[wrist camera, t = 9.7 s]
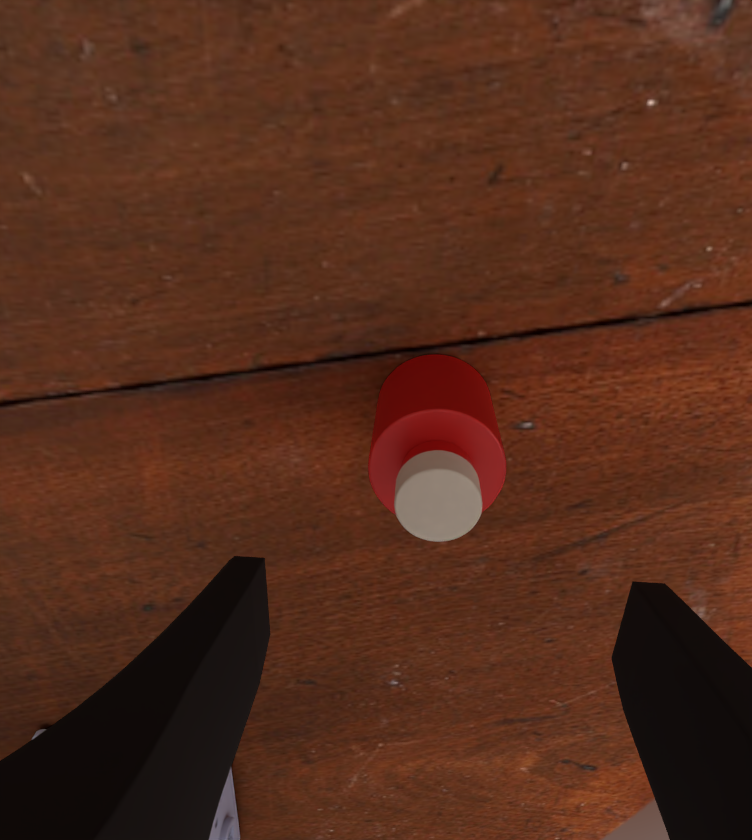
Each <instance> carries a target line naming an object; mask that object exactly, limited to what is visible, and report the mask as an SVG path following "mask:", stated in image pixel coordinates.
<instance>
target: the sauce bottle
mask: <svg viewBox="0 0 752 840" xmlns="http://www.w3.org/2000/svg"><path fill="white" fill-rule="evenodd" d="M368 474H369V479H370V483H371V485H372V488H373V490H374V492H375V494H376V496H377V497H378V498H379V500H380V501H381V502H382V503H383V505H384V506H385V507H386V508H387V509H389V510H390V511H391V512H392V513H394V514H395V515H396V516H397V518H398V520H399V522H400V523H401V524H402V526H403V527H404V528H405V529H406V530H407V531H408V532H410V533H411V534H413V535H414V536H416V537H419V538H421V539H424V540H428V541H448V540H453V539H456V538H458V537H460V536H462V535H464V534H466V533H467V532H468V531H470V530H471V529H472V528H473V527H474V525H475V524H476V523H477V521H478V519H479V518H480V515H481V513H482V512H483V511H484V510H486V509H487V508H488V507H489V506H490V505H491V504H492V503H493V501H494V500H495V499H496V497H497V496H498V494H499V493H500V491H501V489H502V486H503V484H504V481H505V476H506V457H505V453H504V449H503V445H502V441H501V437H500V433H499V429H498V424H497V420H496V416H495V412H494V408H493V404H492V400H491V396H490V392H489V389H488V387H487V384H486V382H485V381H484V379H483V378H482V376H481V375H480V374H479V373H478V372H477V371H476V370H475V369H474V368H473V367H472V366H470V365H469V364H468V363H466V362H464V361H462V360H460V359H457V358H455V357H451V356H447V355H440V354H430V355H423V356H419V357H415V358H413V359H410V360H408V361H406V362H404V363H403V364H401V365H400V366H398V367H397V368H396V369H395V370H394V371H392V372H391V373H390V375H389V376H388V377H387V379H386V380H385V382H384V383H383V385H382V388H381V390H380V393H379V397H378V403H377V409H376V416H375V422H374V428H373V435H372V441H371V448H370V454H369V462H368Z"/></svg>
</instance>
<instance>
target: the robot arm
mask: <svg viewBox="0 0 752 840" xmlns="http://www.w3.org/2000/svg"><path fill="white" fill-rule="evenodd" d="M269 637H270V625H269V611H268V598H267V584H266V570H265V558H256V557H240V556H234V557H233V558H232V559H231V560H229V561H228V563H227V564H226V565H225V566H224V567H223V568H222V569H221V571H220V572H219V573H218V574H217V575H216V576H215V577H214V578H213V580H212V581H211V582H210V583H209V584H208V585H207V586H206V587H205V588H204V590H203V591H202V592H201V593H200V594H199V595H198V596H197V597H196V598H195V599H194V600H193V601H192V603H191V604H190V605H189V606H188V607H187V608H186V609H185V610H184V611H183V612H182V613H181V614H180V615H179V616H178V617H177V618H176V619H175V620H174V621H173V622H172V623H171V624H170V625H169V626H168V627H167V628H166V629H165V630H164V631H163V632H162V633H161V634H160V635H159V636H158V637H157V638H156V639H155V640H154V641H153V642H152V643H151V644H150V645H149V646H148V647H146V648H145V649H144V650H143V651H142V652H141V653H140V654H139V655H138V656H137V657H136V658H135V659H134V660H133V661H131V662H130V663H129V664H128V665H127V666H126V667H125V668H124V669H123V670H121V671H120V672H119V673H118V674H117V675H116V676H115V677H113V678H112V679H111V680H110V681H109V682H108V683H106V684H105V685H104V686H103V687H102V688H100V689H99V690H98V691H97V692H95V693H94V694H93V695H92V696H90V697H89V698H88V699H87V700H85V701H84V702H83V703H82V704H80V705H79V706H78V707H77V708H75V709H74V710H73V711H71V712H70V713H68V714H67V715H66V716H64V717H63V718H62V719H60V720H59V721H58V722H56V723H55V724H54V725H52V726H51V727H49V728H48V729H40V730H38V731H37V732H36V733H35V735H34V736H33V738H32V740H31V741H30V742H28V743H27V744H25V745H24V746H23V747H21V748H20V749H18V750H17V751H15V752H14V753H12V754H10V755H9V756H7V757H6V758H4V759H3V760H1V761H0V840H240V831H239V823H238V815H237V808H236V800H235V792H234V784H233V777H232V769H231V766H232V763H233V760H234V757H235V754H236V751H237V748H238V745H239V742H240V739H241V736H242V734H243V731H244V728H245V725H246V722H247V719H248V716H249V713H250V710H251V707H252V704H253V701H254V698H255V695H256V692H257V689H258V686H259V683H260V679H261V674H262V670H263V665H264V661H265V656H266V651H267V647H268V642H269ZM612 662H613V667H614V672H615V676H616V681H617V686H618V690H619V694H620V698H621V702H622V706H623V710H624V713H625V716H626V719H627V722H628V725H629V728H630V731H631V733H632V736H633V739H634V742H635V745H636V747H637V750H638V753H639V756H640V758H641V761H642V764H643V767H644V769H645V772H646V775H647V778H648V780H649V783H650V786H651V789H652V791H653V794H654V797H655V800H656V802H657V805H658V808H659V811H660V813H661V816H662V819H663V822H664V824H665V827H666V830H667V832H668V835H669V839H670V840H752V668H751V667H750V666H749V665H748V664H747V663H746V662H745V661H744V660H743V659H742V658H741V657H740V656H739V655H738V654H737V653H736V652H734V651H733V650H732V649H731V648H730V647H729V646H728V645H727V644H726V643H725V642H724V641H723V640H722V639H721V638H720V637H719V636H718V635H717V634H716V633H715V632H714V631H713V630H712V629H711V628H710V627H709V626H708V625H707V624H706V623H705V622H704V621H703V620H702V619H701V618H700V617H699V616H698V615H697V614H696V613H695V612H694V611H693V610H692V609H691V608H690V607H689V606H688V605H687V604H686V603H685V602H684V601H683V600H682V599H680V598H679V597H678V596H677V595H676V594H675V593H674V592H673V591H672V590H671V589H670V588H669V587H668V586H667V585H666V584H662V583H647V582H632V586H631V589H630V593H629V597H628V600H627V604H626V607H625V611H624V615H623V618H622V622H621V626H620V629H619V633H618V637H617V640H616V644H615V647H614V651H613V655H612Z"/></svg>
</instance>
